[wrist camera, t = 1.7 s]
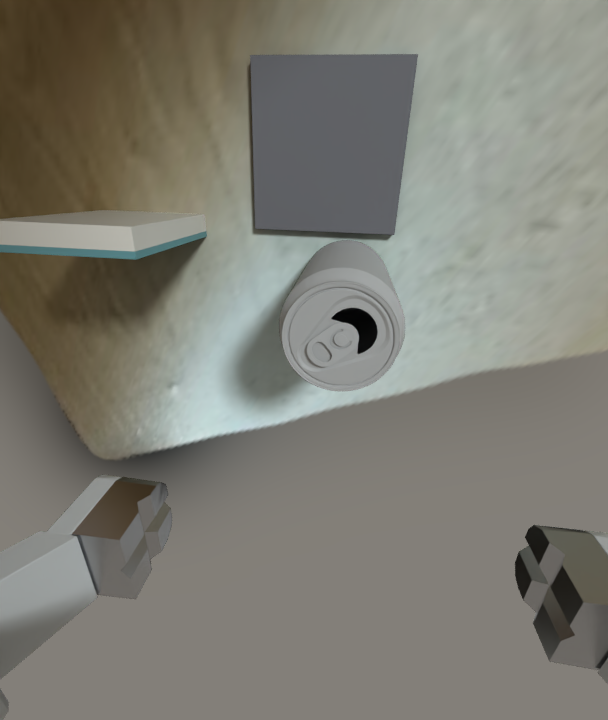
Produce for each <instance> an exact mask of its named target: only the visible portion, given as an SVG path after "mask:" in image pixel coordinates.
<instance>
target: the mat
mask: <svg viewBox="0 0 608 720" xmlns="http://www.w3.org/2000/svg"><path fill="white" fill-rule="evenodd" d="M417 57H418V54H391V55H250V60H251V95H252V130H253V166H254V201H255V229H276V230H298V231H321V232H344V233H366V234H389V235H394V232H395V225H396V217H397V209H398V202H399V194H400V187H401V179H402V171H403V164H404V156H405V149H406V141H407V133H408V126H409V118H410V111H411V103H412V95H413V88H414V80H415V73H416V65H417Z"/></svg>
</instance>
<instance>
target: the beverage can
mask: <svg viewBox="0 0 608 720" xmlns="http://www.w3.org/2000/svg"><path fill="white" fill-rule="evenodd" d="M279 333H280V339H281V343H282V346H283V349H284V352H285V355H286V357H287V360H288V362H289V363H290V365H291V366H292V368H293V369H294V370H295V371H296V372H297V373H298V374H299V375H300V376H301V377H302V378H303V379H305V380H306V381H308V382H309V383H311V384H313V385H315V386H317V387H320V388H323V389H327V390H332V391H351V390H356V389H360V388H363V387H366V386H368V385H370V384H372V383H374V382H375V381H377V380H378V379H380V378H381V377H382V376H383V375H384V374H385V373H386V372H387V371H388V370H389V369H390V367H391V366H392V364H393V363H394V361H395V359H396V357H397V355H398V353H399V351H400V349H401V347H402V344H403V341H404V337H405V317H404V313H403V309H402V306H401V304H400V301H399V299H398V296H397V294H396V291H395V289H394V286H393V284H392V281H391V279H390V276H389V274H388V271H387V269H386V266H385V264H384V262H383V260H382V259H381V257H380V256H379V255H378V254H377V253H376V252H375V251H374V250H373V249H372V248H370V247H369V246H367V245H365V244H363V243H360V242H357V241H351V240H342V241H336V242H333V243H330V244H328V245H326V246H324V247H323V248H321V249H320V250H319V251H317V252H316V253H315V254H314V256H313V257H312V258H311V260H310V261H309V263H308V264H307V266H306V268H305V269H304V271H303V272H302V274H301V276H300V277H299V279H298V281H297V282H296V284H295V285H294V287H293V289H292V290H291V292H290V294H289V295H288V297H287V299H286V300H285V303H284V305H283V307H282V310H281V314H280V320H279Z"/></svg>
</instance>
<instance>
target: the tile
mask: <svg viewBox="0 0 608 720" xmlns="http://www.w3.org/2000/svg"><path fill="white" fill-rule="evenodd" d="M204 237H207V234H206V222H205V214H190V213H165V212H141V211H116V210H99V211H88V212H76V213H64V214H52V215H41V216H29V217H17V218H5V219H0V252H8V253H26V254H44V255H63V256H81V257H100V258H118V259H139V258H143V257H146V256H149V255H152V254H155V253H158V252H161V251H164V250H167V249H170V248H173V247H176V246H179V245H182V244H185V243H188V242H192V241H195V240H198V239H201V238H204Z"/></svg>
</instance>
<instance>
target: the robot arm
mask: <svg viewBox="0 0 608 720" xmlns="http://www.w3.org/2000/svg"><path fill="white" fill-rule="evenodd" d="M167 496H168V491H167V486H166V484H164V483H162V482H155V481H147V480H140V479H134V478H127V477H118V476H110V475H101V476H99V477H97V478H95V479H94V480H93V481H92V482H91V484H90V485H89V486H88V487H87V488H86V489H85V490H84V491H83V492H82V493H81V494H80V495H79V497H78V498H77V499H76V500H75V501H74V502H73V503H72V504H71V505H70V507H69V508H68V509H67V510H66V511H65V512H64V513H63V514H62V515H61V516H60V517H59V519H58V520H57V521H56V522H55V523H54V524H53V525H52V526H51V527H50V528H49V530H48V531H47V532H44V531H39V532H37V533H35V534H33V535H31V536H30V537H28V538H26V539H24V540H22V541H20V542H19V543H16V544H14V545H13V546H11V547H9V548H7V549H5V550H3V551H1V552H0V679H2V678H3V677H4V676H5V675H6V674H8V673H9V672H10V671H11V670H12V669H13V668H15V667H16V666H17V665H18V664H19V663H21V662H22V661H23V660H24V659H25V658H27V657H28V656H29V655H30V654H31V653H33V652H34V651H35V650H36V649H37V648H38V647H40V646H41V645H42V644H43V643H44V642H46V640H48V639H49V638H50V637H51V636H53V635H54V634H55V633H56V632H57V631H59V630H60V629H61V628H62V627H63V626H64V625H66V624H67V623H68V622H69V621H70V620H72V619H73V618H74V617H75V616H76V615H78V614H79V613H80V612H81V611H82V610H83V609H85V608H86V607H87V606H88V605H89V604H90V603H92V602H93V601H94V600H95V599H96V598H97V597H98V596H97V595H103V596H112V597H121V598H129V599H136V598H137V596H138V594H139V592H140V591H141V589H142V587H143V585H144V583H145V581H146V579H147V578H148V576H149V574H150V572H151V570H152V568H151V561H150V559H151V558H153V557H154V556H155V555H157V554H158V553H160V552H161V551H162V549H163V547H164V546H165V544H166V542H167V540H168V536H169V533H170V530H171V526H172V513H171V508H170V507H169V506H168V505H167V504H166V503H165V502H164V501H165V499H166V498H167ZM525 538H526V540H527V542H528V544H529V546H527V547H526V548H524V549H522V550H521V551H519V553H518V556H517V559H516V561H515V576H516V581H517V585H518V589H519V591H520V594H521V596H522V598H523V600H524V601H525V602H526V603H527V604H528V605H529V606H530V607H531V608H532V609H533V610H534V611H535V612H536V614H535V618H534V621H533V624H534V627H535V629H536V632H537V634H538V636H539V639H540V641H541V643H542V646H543V648H544V650H545V653H546V655H547V657H548V659H549V661H550V662H555V663H561V664H567V665H572V666H577V667H583V668H589V669H594V670H599V671H598V674H599V675H600V676H601V677H602V678H603V679H604V680H605V682H606V683H607V684H608V533H603V532H594V531H583V530H576V529H567V528H557V527H548V526H538V525H533V526H532V527H530V528H529V529H528V531H527V534H526V536H525ZM8 706H9V702H8V700H7V698H6V697H5V695H4V694H3V692H2V691H1V690H0V720H3V719H4V717H5V716H6V714H7V713H8V710H9V707H8Z"/></svg>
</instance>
